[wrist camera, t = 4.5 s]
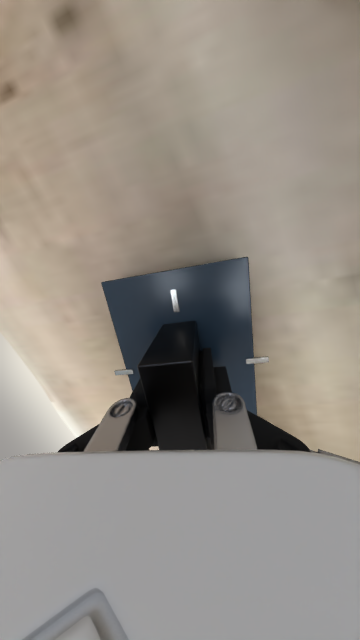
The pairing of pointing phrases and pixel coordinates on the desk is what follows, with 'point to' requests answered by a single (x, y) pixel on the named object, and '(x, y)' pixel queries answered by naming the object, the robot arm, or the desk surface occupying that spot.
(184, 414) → the black box red end
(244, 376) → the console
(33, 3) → the desk surface
